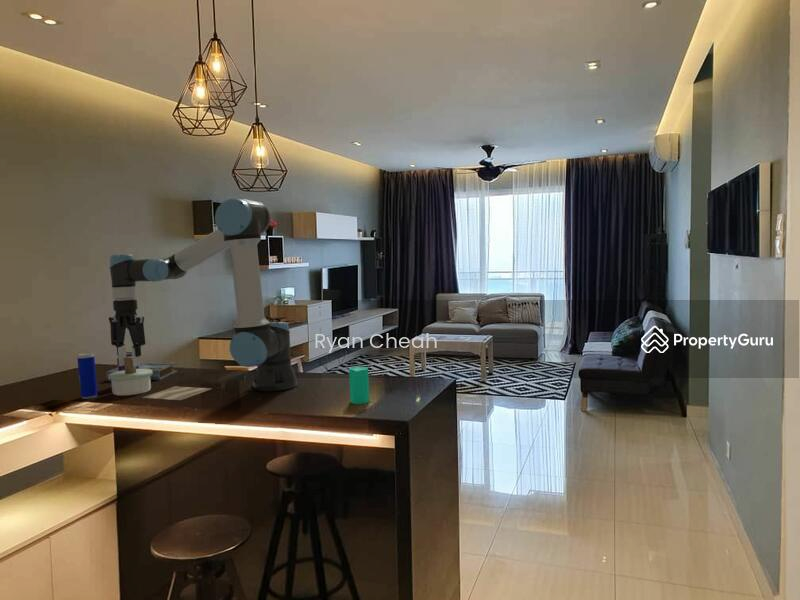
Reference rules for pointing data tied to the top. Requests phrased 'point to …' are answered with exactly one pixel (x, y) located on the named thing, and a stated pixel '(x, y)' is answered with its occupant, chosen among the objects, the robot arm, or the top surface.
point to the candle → (359, 385)
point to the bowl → (131, 386)
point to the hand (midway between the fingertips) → (130, 365)
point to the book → (153, 370)
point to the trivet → (177, 393)
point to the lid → (130, 372)
